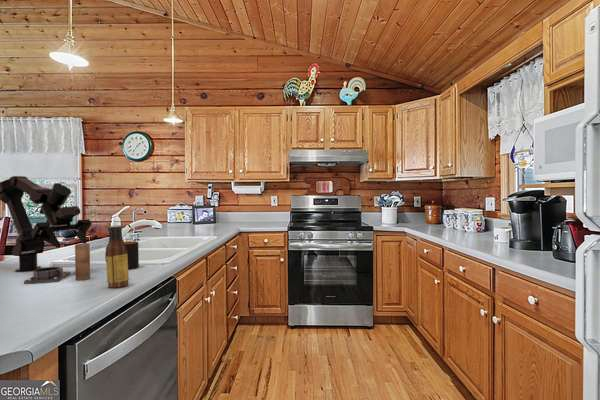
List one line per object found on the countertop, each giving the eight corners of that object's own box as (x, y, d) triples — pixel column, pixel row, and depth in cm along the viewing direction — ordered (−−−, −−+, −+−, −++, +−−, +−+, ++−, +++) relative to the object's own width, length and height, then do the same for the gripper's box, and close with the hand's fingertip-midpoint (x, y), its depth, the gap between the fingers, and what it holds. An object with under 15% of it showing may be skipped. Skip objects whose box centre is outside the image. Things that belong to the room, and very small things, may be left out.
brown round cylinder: (78, 278, 125) (77, 243, 125) (91, 277, 126) (91, 243, 126) (73, 281, 121) (73, 245, 121) (88, 280, 122) (87, 244, 122)
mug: (105, 268, 141) (104, 243, 141) (137, 265, 147) (137, 240, 147) (106, 272, 134) (105, 245, 134) (139, 268, 140) (139, 243, 140)
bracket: (39, 276, 128) (39, 266, 128) (70, 274, 131) (70, 264, 131) (23, 284, 117) (23, 273, 117) (58, 281, 120) (58, 271, 120)
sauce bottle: (132, 283, 117) (131, 225, 117) (123, 288, 111) (122, 226, 111) (112, 283, 117) (111, 225, 117) (102, 288, 111) (101, 227, 111)
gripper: (34, 199, 119) (54, 232, 115) (88, 198, 136) (107, 227, 131) (23, 221, 123) (41, 254, 118) (76, 218, 140) (94, 247, 135)
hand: (73, 245), depth 126 cm, fingers open, 9 cm apart
